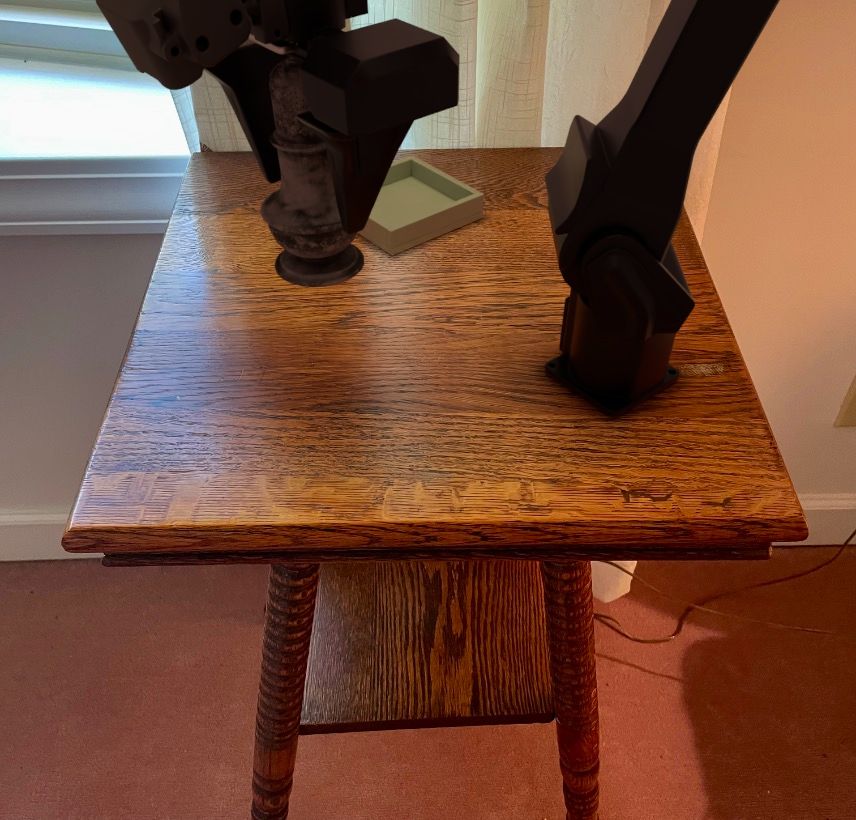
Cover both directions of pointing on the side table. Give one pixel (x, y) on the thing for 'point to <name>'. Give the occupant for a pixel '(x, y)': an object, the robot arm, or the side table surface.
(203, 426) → the side table surface
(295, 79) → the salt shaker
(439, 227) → the tray
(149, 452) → the side table surface
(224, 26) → the robot arm
